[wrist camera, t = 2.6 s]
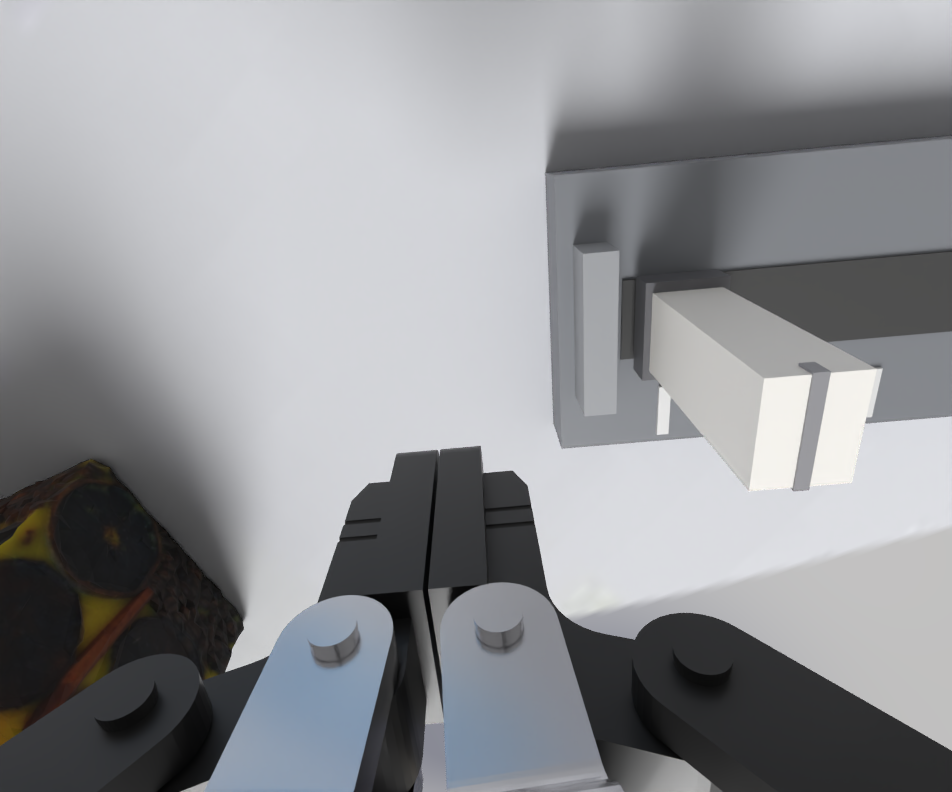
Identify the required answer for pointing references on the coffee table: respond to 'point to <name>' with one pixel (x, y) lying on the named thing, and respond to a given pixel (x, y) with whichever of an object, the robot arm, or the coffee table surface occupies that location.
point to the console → (754, 271)
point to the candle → (94, 594)
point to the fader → (752, 381)
